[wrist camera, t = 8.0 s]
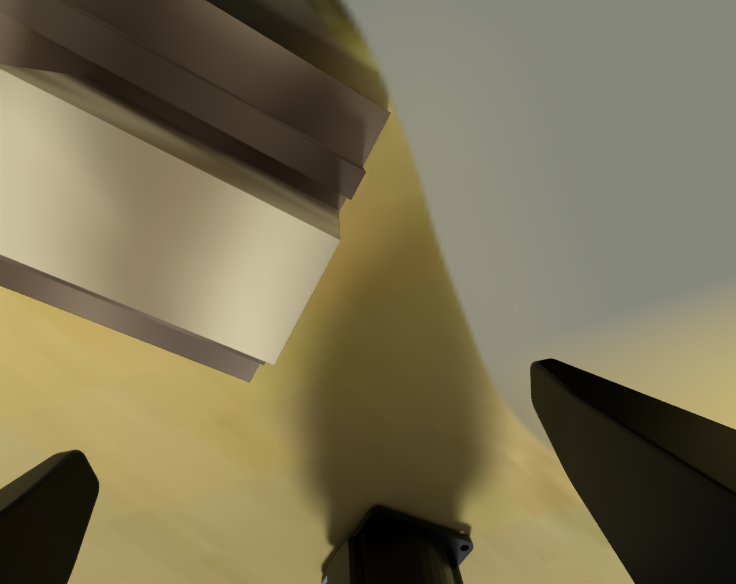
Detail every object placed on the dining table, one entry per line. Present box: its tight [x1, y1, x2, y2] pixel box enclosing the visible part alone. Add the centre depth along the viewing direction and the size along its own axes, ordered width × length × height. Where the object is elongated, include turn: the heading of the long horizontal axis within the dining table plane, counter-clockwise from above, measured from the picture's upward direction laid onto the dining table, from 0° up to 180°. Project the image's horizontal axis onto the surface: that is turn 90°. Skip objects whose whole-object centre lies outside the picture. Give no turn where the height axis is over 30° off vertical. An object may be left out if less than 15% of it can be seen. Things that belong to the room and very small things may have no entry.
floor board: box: [0, 0, 390, 383], centre depth 13 cm, size 18×12×5 cm, turn 61°
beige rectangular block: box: [0, 64, 341, 365], centre depth 13 cm, size 9×4×4 cm, turn 61°
